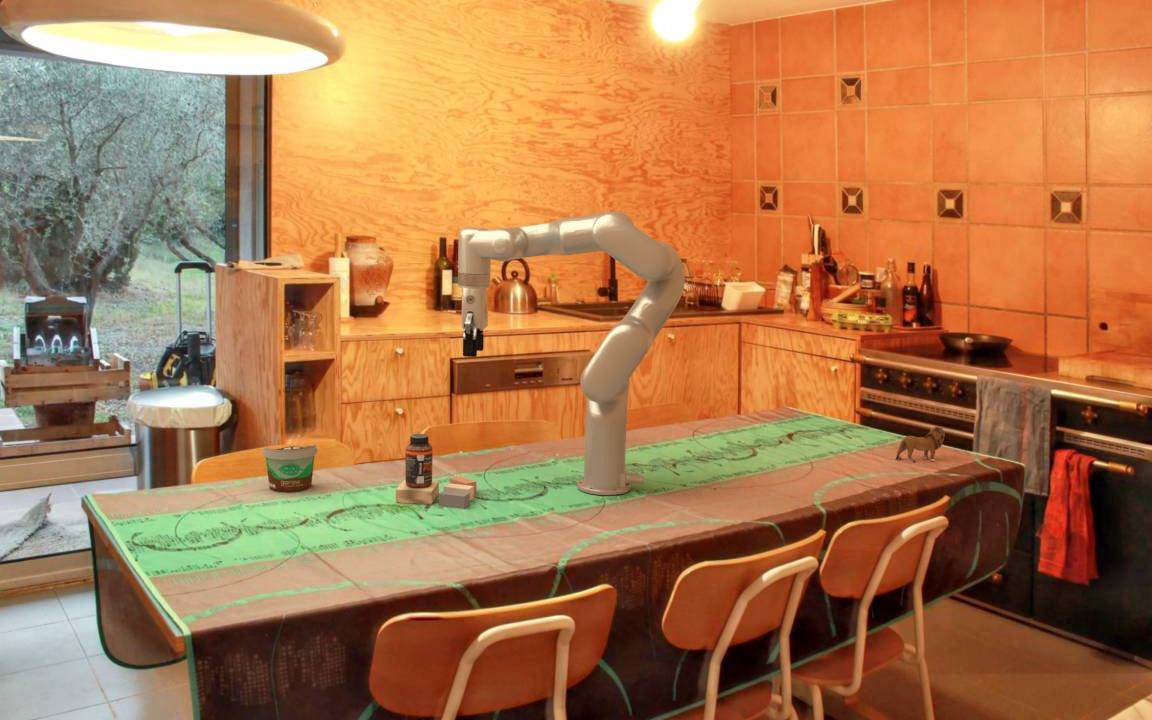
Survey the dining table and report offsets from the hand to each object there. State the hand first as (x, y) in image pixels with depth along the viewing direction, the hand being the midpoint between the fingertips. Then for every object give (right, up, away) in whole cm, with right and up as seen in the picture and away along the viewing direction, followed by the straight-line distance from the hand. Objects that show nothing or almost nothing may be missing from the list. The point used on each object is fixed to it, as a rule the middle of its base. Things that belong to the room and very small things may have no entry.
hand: (473, 353), depth 250 cm
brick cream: (-2, -33, -13) cm, 35 cm away
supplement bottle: (-11, -30, -14) cm, 34 cm away
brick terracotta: (-2, -32, -7) cm, 33 cm away
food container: (-40, -31, -10) cm, 52 cm away
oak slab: (-11, -33, -13) cm, 37 cm away
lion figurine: (+117, -29, +35) cm, 125 cm away
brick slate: (-2, -34, -18) cm, 38 cm away
